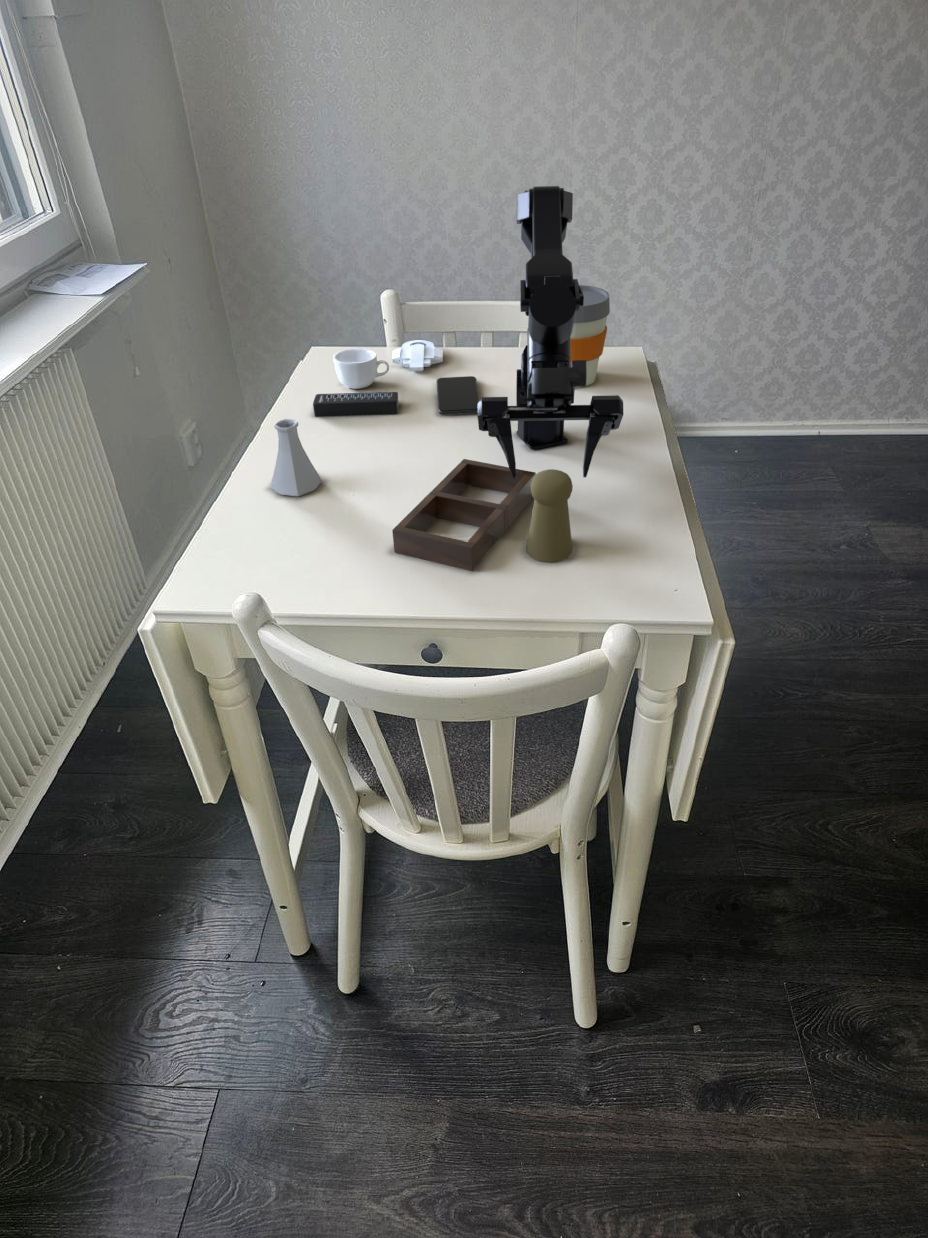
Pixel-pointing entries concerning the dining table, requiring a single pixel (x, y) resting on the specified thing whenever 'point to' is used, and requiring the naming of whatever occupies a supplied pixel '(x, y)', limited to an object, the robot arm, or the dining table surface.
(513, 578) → the dining table surface
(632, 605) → the dining table surface
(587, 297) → the reusable coffee cup
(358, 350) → the teacup
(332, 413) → the multiport hub
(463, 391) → the smartphone
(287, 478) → the flask
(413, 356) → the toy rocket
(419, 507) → the frame
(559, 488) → the olive pawn
